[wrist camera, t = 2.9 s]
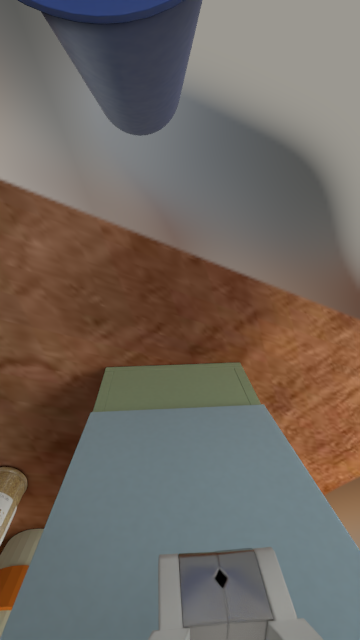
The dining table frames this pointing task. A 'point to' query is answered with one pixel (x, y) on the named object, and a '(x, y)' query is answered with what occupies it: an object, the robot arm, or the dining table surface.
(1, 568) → the reusable coffee cup
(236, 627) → the robot arm
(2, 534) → the sprinkles bottle
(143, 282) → the dining table surface
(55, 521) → the hatch
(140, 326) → the dining table surface
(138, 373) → the display box
